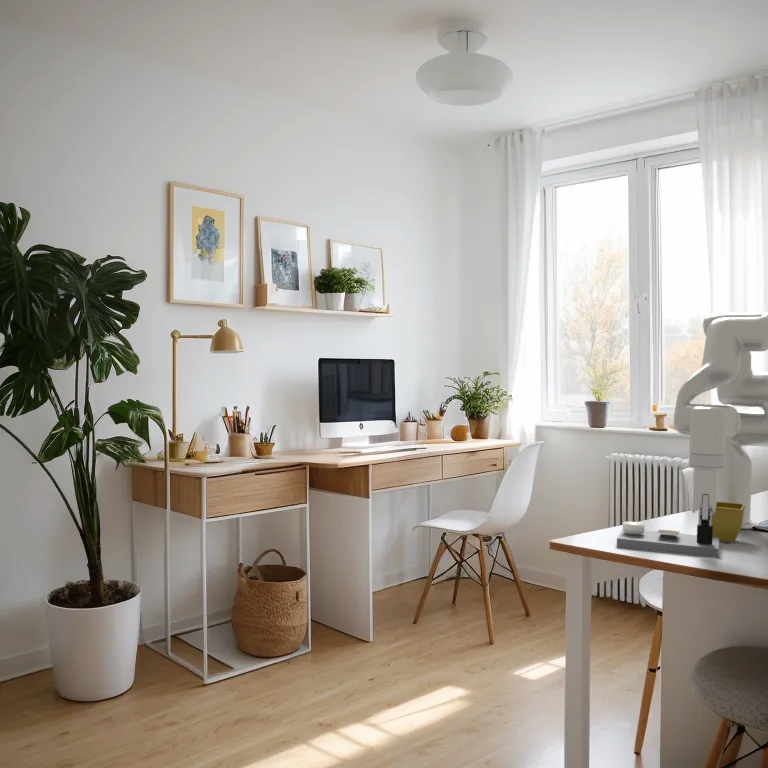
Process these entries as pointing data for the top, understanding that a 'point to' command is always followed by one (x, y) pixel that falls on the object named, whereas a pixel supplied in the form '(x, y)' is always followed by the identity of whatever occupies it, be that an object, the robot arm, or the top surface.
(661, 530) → the rocker
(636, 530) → the push button
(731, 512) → the flower pot
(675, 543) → the switch panel
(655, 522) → the top surface
